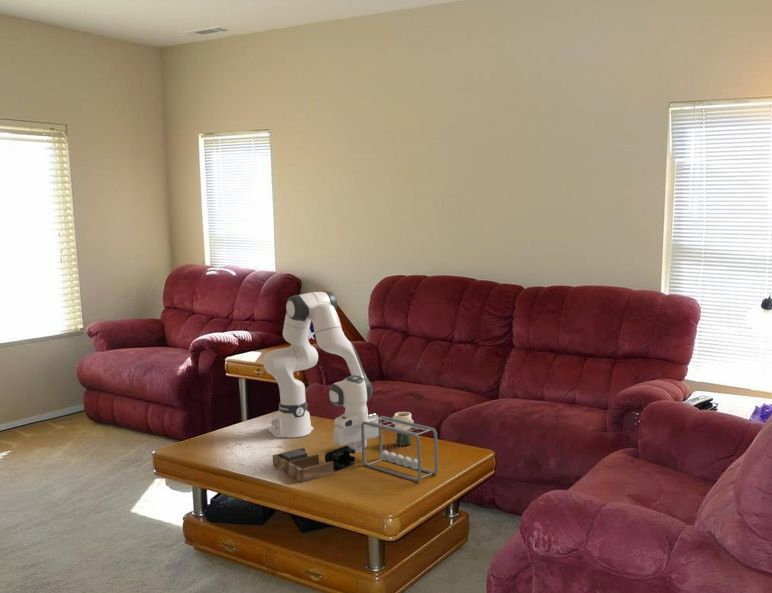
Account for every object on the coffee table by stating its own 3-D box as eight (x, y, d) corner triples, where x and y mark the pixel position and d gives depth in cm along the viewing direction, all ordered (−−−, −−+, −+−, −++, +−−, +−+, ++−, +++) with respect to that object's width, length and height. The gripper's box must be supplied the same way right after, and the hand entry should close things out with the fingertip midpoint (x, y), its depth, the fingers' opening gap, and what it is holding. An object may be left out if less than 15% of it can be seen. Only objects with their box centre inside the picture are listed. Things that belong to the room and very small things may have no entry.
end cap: (343, 460, 296) (342, 443, 295) (356, 464, 291) (355, 447, 290) (324, 467, 289) (324, 450, 288) (337, 471, 284) (336, 454, 283)
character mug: (419, 444, 312) (418, 413, 311) (409, 448, 307) (408, 418, 305) (398, 439, 319) (397, 410, 318) (388, 444, 314) (387, 414, 312)
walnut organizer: (273, 466, 292) (272, 455, 291) (304, 458, 300) (303, 447, 299) (301, 482, 273) (301, 470, 273) (333, 473, 281) (333, 462, 281)
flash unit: (282, 467, 291) (281, 453, 290) (301, 462, 296) (300, 449, 295) (289, 471, 286) (288, 457, 285) (308, 466, 291) (308, 452, 290)
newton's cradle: (438, 475, 276) (437, 428, 274) (420, 483, 269) (418, 435, 267) (381, 458, 297) (379, 414, 295) (362, 465, 290) (360, 420, 287)
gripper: (373, 411, 301) (375, 444, 303) (330, 420, 289) (332, 455, 291) (382, 414, 296) (384, 448, 298) (339, 424, 284) (340, 459, 286)
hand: (358, 451), depth 294 cm, fingers closed
